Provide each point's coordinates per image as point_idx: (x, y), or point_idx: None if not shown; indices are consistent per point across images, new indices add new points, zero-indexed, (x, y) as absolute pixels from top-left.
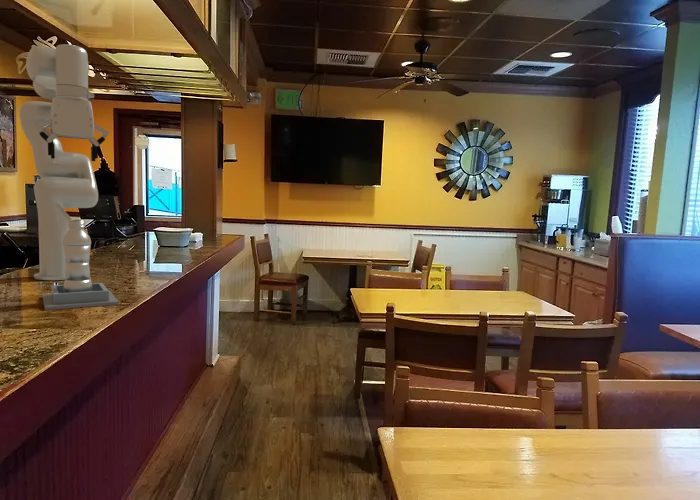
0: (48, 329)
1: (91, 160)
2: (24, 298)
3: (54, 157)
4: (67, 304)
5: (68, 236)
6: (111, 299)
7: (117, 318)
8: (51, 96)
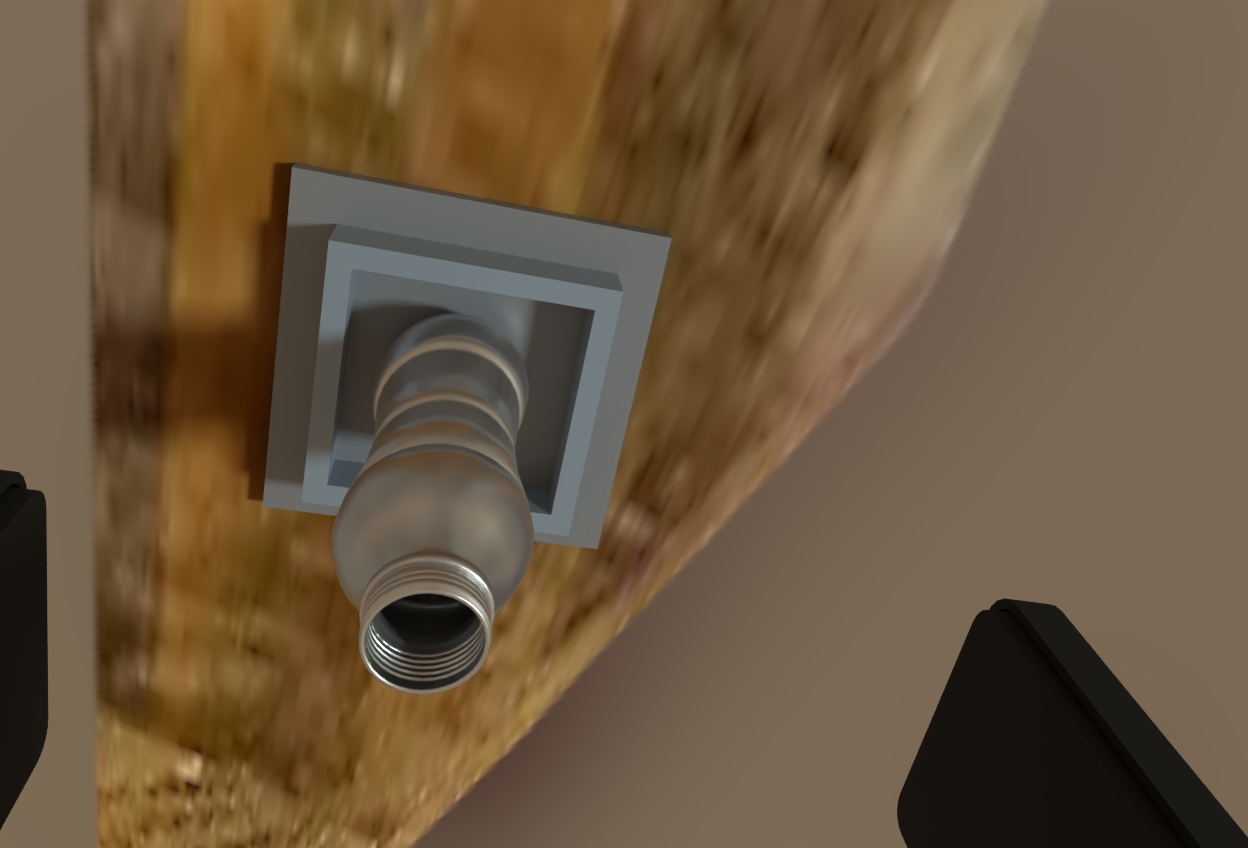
0: (240, 783)
1: (966, 645)
2: (194, 144)
3: (38, 744)
4: None
5: (358, 608)
6: (585, 490)
7: (502, 749)
8: None
